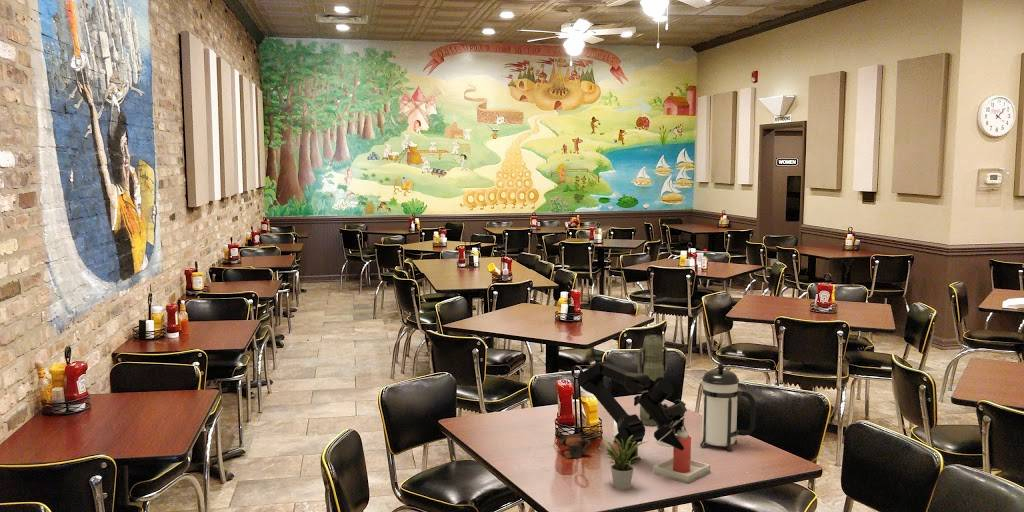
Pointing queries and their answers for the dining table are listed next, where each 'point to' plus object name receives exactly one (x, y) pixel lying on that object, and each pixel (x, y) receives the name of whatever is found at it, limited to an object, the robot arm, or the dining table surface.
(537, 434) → the dining table surface
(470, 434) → the dining table surface
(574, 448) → the pottery mug
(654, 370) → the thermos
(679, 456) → the squeeze bottle
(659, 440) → the cream round disc
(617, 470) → the house plant
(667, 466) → the tray
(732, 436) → the coffee press
